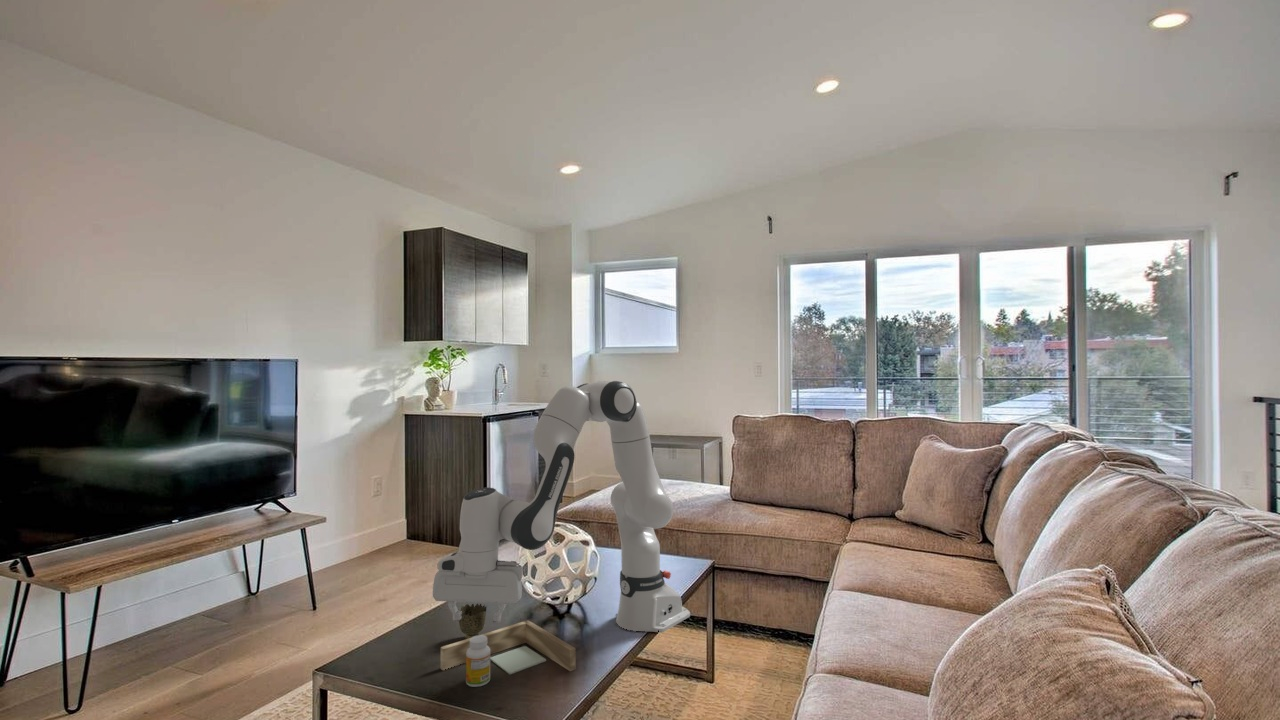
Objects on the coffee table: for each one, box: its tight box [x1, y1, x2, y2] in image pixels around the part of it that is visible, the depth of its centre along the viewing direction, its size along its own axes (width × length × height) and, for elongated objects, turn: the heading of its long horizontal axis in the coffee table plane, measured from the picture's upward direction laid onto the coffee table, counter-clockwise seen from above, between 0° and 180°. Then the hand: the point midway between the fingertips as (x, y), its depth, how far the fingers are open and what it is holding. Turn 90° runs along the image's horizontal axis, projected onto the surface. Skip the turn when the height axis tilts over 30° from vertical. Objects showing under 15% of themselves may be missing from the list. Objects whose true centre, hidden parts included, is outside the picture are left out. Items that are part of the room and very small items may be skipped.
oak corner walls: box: [439, 619, 576, 672], centre depth 141 cm, size 24×22×5 cm
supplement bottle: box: [465, 634, 491, 688], centre depth 135 cm, size 5×5×10 cm
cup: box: [457, 603, 487, 639], centre depth 158 cm, size 8×7×8 cm
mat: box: [490, 645, 547, 675], centre depth 145 cm, size 10×10×1 cm
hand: (477, 620), depth 135 cm, fingers open, 8 cm apart
